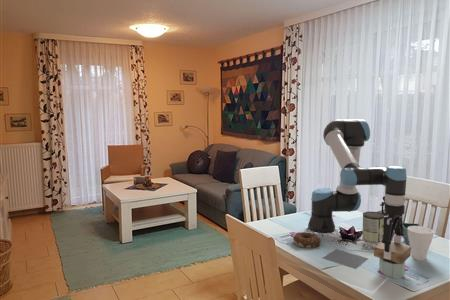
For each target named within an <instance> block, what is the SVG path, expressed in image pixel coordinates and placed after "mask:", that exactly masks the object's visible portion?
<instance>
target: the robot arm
mask: <svg viewBox="0 0 450 300" xmlns="http://www.w3.org/2000/svg"><path fill="white" fill-rule="evenodd" d="M322 137H323V140H324V143H325V144H326V145H327V146H329V147H330V149H331V151H332V153H333V155H334V157H335V159H336V161H337V163H338V165H339V167H340V169H341V170H340V172H339V173H340V174H339V176H340V177H339V178H340V179H339V185H338V186H337V187H336V188H335V190H333V189H332V188H327V187H326V188H317V189H314V190H313V191H312V193H311V209H310V210H311V214H310V215H311V216H310V219H309V221H308V223H307V225H308V226H307V229H308V230H309V231H311V232H312V231H313V233H315V234H332V233H334V232H335V231H336V225H335V221H334V219H333V213H334V212H336V213H337V212H356V211H358V210H359V209H360V207H361V203H362V199H361V198H362V195H361V193H360V191H359V190H358V189H359V188H357V186H379V185H380V186H381V185H382V186H384V189H385V190H384V196H385V202H386V203H385V205H384V206H383V210H384V211H385V212H386V213H388V214H389V216H388V218H387V219H385V227H384V233H383V239H382V243H384V258H385V259H389V260H391V251H392V244H391V242H395V243H399V244H402V237H403V236H404V234H403V223H404V222H403V215H404V214H405V208H406V206H405V203H406V200H407V197H406V191H407V190H406V189H407V178H408V177H407V168H405V167H404V166H400V165H399V166H398V165H389V166H387V167H386V166H381V165H377V166H373V167H361V166H360V165H359V164H360V163H359V162H360V156H361V149H362V148H363V147H364V146H365V142H368V141H369V139H370V138H371V129H370V126H369V123H368V121H366V120H365V119H358V118H355V119H354V118H353V119H334V120H331V121H330V122H329V123H328V124H327V125H326V126H325V127H324V130H323V135H322ZM393 232H394V234H393ZM392 239H393V240H392Z"/></svg>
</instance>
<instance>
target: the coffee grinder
mask: <svg viewBox="0 0 450 300" xmlns="http://www.w3.org/2000/svg"><path fill="white" fill-rule="evenodd" d="M382 200H383V201H382V202H381V204H379V206H380V207H381V209H380V210H377V212H378V213H381V214H383V215H384V225H383V233H384V227H385V219H387V218H388V216H389V214H388V213H386V212H385V211H384V207H385V203H386V202H385V195H384V196H382ZM393 235H395V231H394V232H393Z"/></svg>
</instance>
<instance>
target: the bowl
mask: <svg viewBox="0 0 450 300" xmlns="http://www.w3.org/2000/svg"><path fill="white" fill-rule="evenodd" d="M405 265H406V261H405V262H404V263H403V264H400V263H396V262H393V261H389V260H386V259H382V258H379V263H378V270H379V272H381V274H382V275H386V276H387V277H388V278H391V279H402V278H403V277H404V276H405V270H406V269H405V268H406V266H405Z"/></svg>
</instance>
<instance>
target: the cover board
mask: <svg viewBox="0 0 450 300" xmlns="http://www.w3.org/2000/svg"><path fill="white" fill-rule="evenodd" d="M391 244H392V251H391V260H389V259H386V260H389V261H393V262H396V263H400V264H403V263H404V262H405V263H406V261H407V260H408V259H409V258H410V257H411V246H410V245H409V244H403V243H401V244H399V243H395V242H394V241H391ZM373 257H377V258H378V259H380V258H382V259H385V258H384V243H382V241H381V242H380V243H379V244H376V245H375V246H374V247H373Z"/></svg>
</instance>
